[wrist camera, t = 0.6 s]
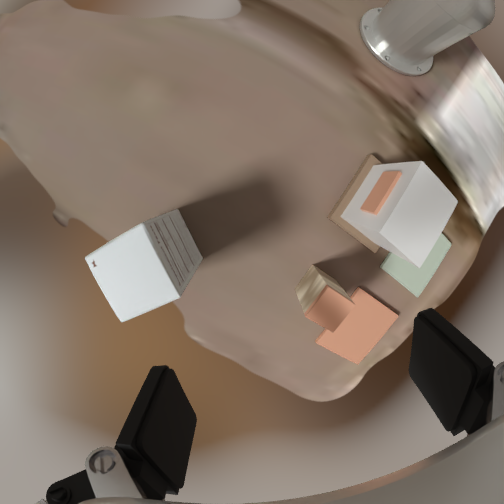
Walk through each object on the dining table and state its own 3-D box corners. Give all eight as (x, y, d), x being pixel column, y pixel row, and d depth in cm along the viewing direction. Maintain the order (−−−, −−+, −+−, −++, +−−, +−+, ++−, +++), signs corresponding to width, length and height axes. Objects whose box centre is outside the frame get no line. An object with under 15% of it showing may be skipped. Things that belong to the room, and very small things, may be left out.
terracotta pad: (358, 286, 36) (359, 288, 35) (397, 314, 37) (398, 315, 36) (315, 340, 38) (316, 342, 37) (356, 362, 39) (357, 364, 38)
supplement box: (158, 280, 36) (119, 325, 23) (133, 231, 34) (81, 256, 22) (205, 259, 35) (182, 299, 23) (179, 206, 33) (141, 220, 21)
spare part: (312, 264, 35) (328, 287, 27) (335, 279, 36) (355, 304, 28) (294, 288, 36) (305, 316, 28) (317, 303, 36) (333, 332, 29)
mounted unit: (367, 155, 31) (419, 145, 20) (409, 192, 32) (466, 199, 21) (327, 217, 33) (364, 236, 22) (371, 251, 35) (419, 282, 23)
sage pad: (416, 208, 33) (419, 209, 32) (449, 243, 34) (451, 244, 34) (379, 266, 35) (381, 268, 34) (415, 296, 36) (417, 297, 36)
